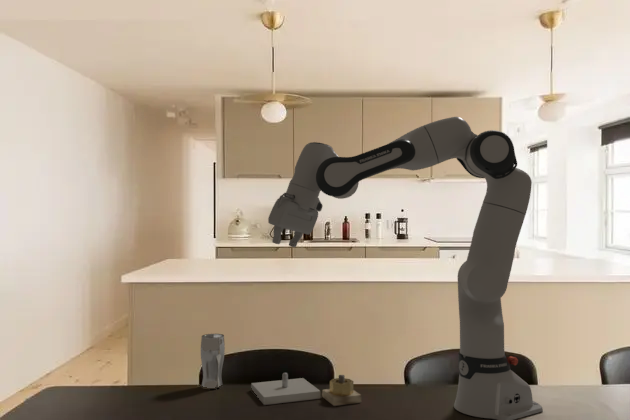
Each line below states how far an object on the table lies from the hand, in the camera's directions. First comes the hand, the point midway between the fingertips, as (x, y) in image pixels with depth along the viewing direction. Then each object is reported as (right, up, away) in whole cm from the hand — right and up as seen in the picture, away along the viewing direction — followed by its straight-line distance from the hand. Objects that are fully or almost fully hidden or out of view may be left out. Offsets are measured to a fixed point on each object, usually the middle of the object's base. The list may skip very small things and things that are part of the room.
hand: (284, 245), depth 144 cm
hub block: (0, -42, +3) cm, 42 cm away
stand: (+16, -42, -2) cm, 45 cm away
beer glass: (-22, -43, +9) cm, 49 cm away
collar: (+16, -40, -2) cm, 43 cm away
